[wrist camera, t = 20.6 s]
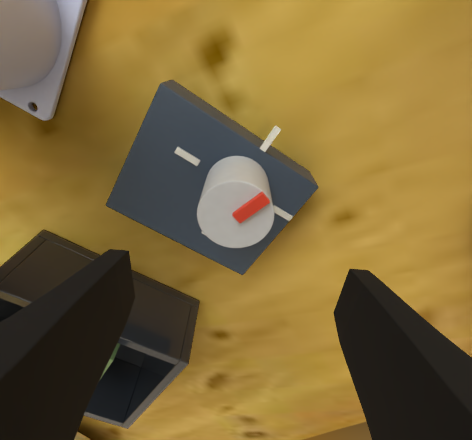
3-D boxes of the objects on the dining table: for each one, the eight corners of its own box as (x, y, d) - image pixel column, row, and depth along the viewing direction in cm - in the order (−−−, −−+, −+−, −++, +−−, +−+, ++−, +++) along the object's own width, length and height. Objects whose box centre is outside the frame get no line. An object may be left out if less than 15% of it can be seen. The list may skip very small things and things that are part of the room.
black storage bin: (14, 315, 26) (-41, 378, 21) (43, 228, 21) (-20, 283, 16) (147, 365, 29) (127, 429, 24) (200, 300, 24) (188, 364, 19)
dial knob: (233, 223, 17) (230, 264, 14) (192, 182, 16) (179, 215, 13) (281, 190, 16) (290, 225, 13) (241, 141, 15) (240, 166, 11)
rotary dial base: (120, 188, 19) (103, 207, 17) (183, 54, 15) (172, 54, 13) (242, 253, 22) (242, 277, 19) (324, 154, 18) (336, 168, 15)
